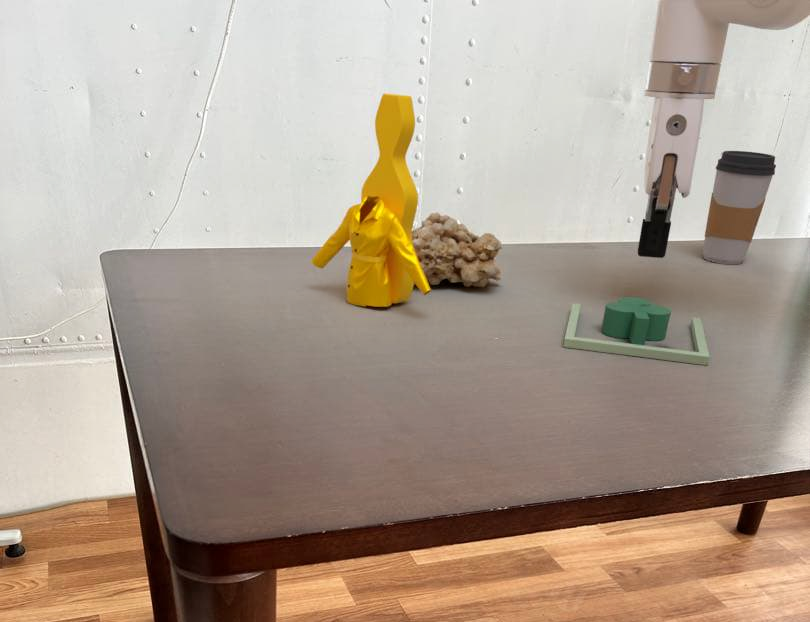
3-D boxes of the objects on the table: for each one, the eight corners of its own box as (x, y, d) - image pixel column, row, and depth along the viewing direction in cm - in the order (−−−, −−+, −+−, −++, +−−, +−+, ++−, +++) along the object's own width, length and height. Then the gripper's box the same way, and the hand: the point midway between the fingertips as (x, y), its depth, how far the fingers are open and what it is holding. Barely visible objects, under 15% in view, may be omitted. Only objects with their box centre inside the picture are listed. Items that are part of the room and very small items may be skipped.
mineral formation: (397, 291, 102) (395, 254, 114) (499, 313, 104) (487, 274, 116) (412, 226, 98) (408, 195, 110) (518, 250, 100) (503, 217, 112)
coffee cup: (749, 269, 123) (779, 160, 115) (692, 261, 125) (717, 154, 117) (750, 257, 129) (778, 154, 121) (696, 250, 132) (720, 148, 124)
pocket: (571, 311, 99) (572, 303, 99) (698, 326, 97) (700, 318, 96) (563, 347, 88) (564, 338, 87) (707, 365, 85) (709, 356, 85)
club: (670, 348, 89) (677, 321, 88) (604, 342, 90) (609, 315, 88) (658, 325, 96) (664, 299, 95) (597, 319, 97) (602, 294, 95)
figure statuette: (300, 292, 100) (297, 87, 88) (343, 280, 105) (345, 86, 94) (417, 325, 91) (430, 103, 80) (456, 311, 97) (474, 101, 85)
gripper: (723, 86, 82) (686, 272, 92) (711, 81, 95) (679, 245, 104) (647, 83, 84) (618, 267, 93) (645, 79, 96) (619, 241, 106)
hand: (650, 255), depth 99 cm, fingers closed
